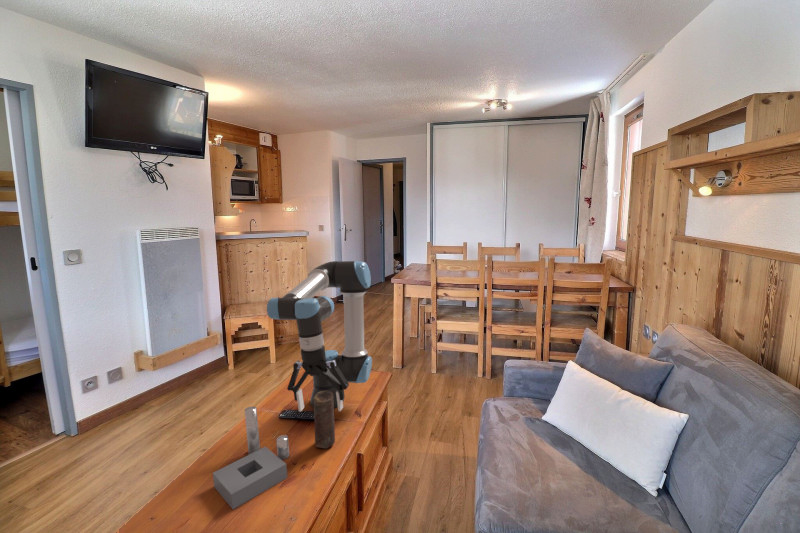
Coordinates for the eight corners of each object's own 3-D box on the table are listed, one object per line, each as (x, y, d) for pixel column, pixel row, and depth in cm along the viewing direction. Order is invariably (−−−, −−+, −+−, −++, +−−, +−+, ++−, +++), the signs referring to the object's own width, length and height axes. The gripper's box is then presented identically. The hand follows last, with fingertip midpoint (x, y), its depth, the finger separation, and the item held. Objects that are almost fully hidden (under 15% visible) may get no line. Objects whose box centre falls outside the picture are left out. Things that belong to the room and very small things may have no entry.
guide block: (266, 459, 135) (265, 446, 134) (287, 477, 126) (286, 463, 125) (214, 487, 122) (212, 472, 121) (233, 509, 113) (231, 494, 112)
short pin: (285, 451, 139) (284, 433, 138) (291, 455, 137) (290, 437, 136) (275, 456, 137) (274, 438, 135) (281, 461, 134) (279, 443, 133)
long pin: (257, 447, 142) (253, 405, 139) (262, 452, 139) (258, 409, 137) (246, 452, 139) (242, 409, 136) (251, 457, 136) (247, 413, 134)
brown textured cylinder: (339, 440, 145) (336, 391, 142) (329, 452, 138) (326, 401, 135) (321, 437, 147) (318, 388, 144) (311, 448, 140) (308, 398, 137)
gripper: (270, 352, 120) (280, 415, 123) (346, 349, 116) (354, 415, 118) (281, 344, 127) (290, 403, 130) (353, 341, 123) (360, 403, 126)
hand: (321, 409), depth 124 cm, fingers open, 13 cm apart
